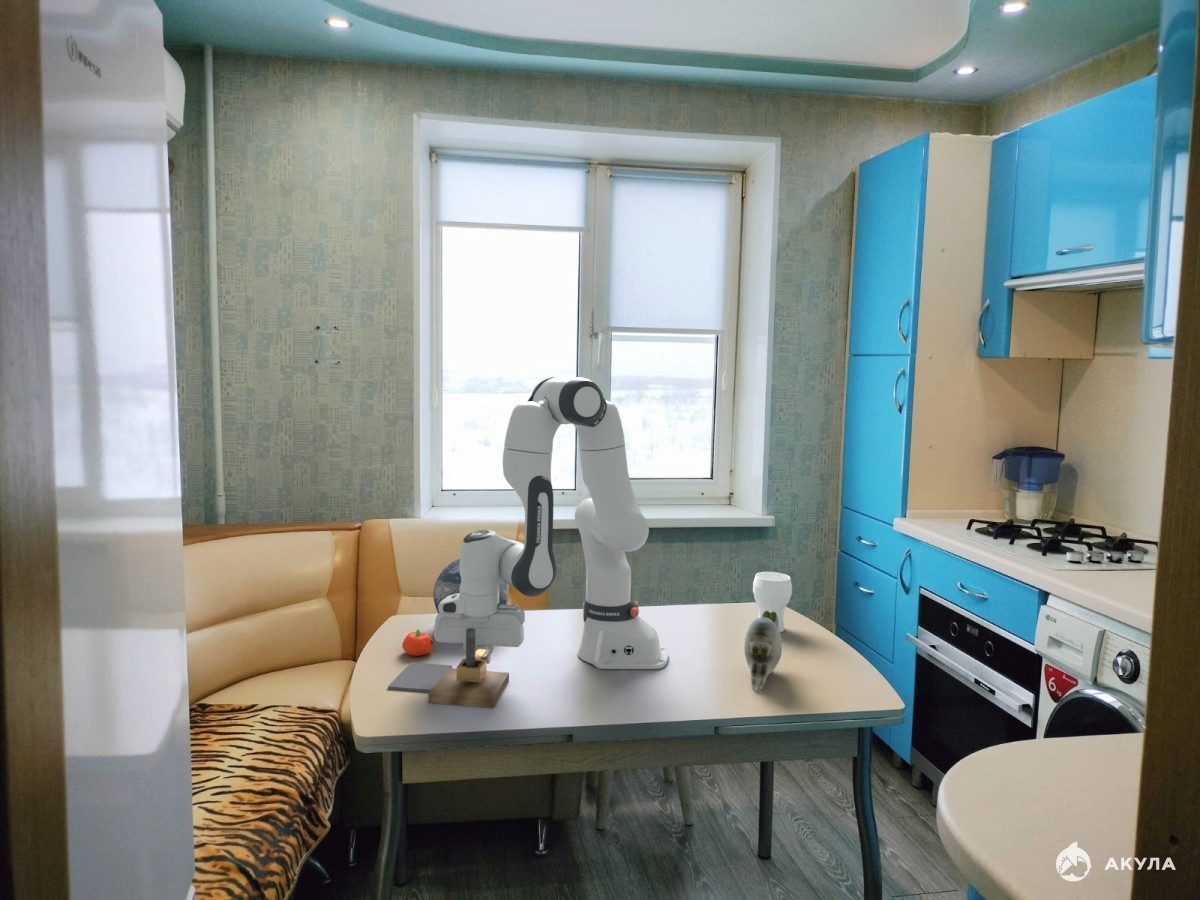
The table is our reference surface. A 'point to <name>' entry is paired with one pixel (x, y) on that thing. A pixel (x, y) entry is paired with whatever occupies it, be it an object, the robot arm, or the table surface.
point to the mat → (419, 677)
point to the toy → (763, 647)
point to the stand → (469, 684)
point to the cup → (772, 594)
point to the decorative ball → (458, 585)
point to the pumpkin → (417, 643)
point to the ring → (472, 668)
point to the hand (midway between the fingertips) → (479, 662)
